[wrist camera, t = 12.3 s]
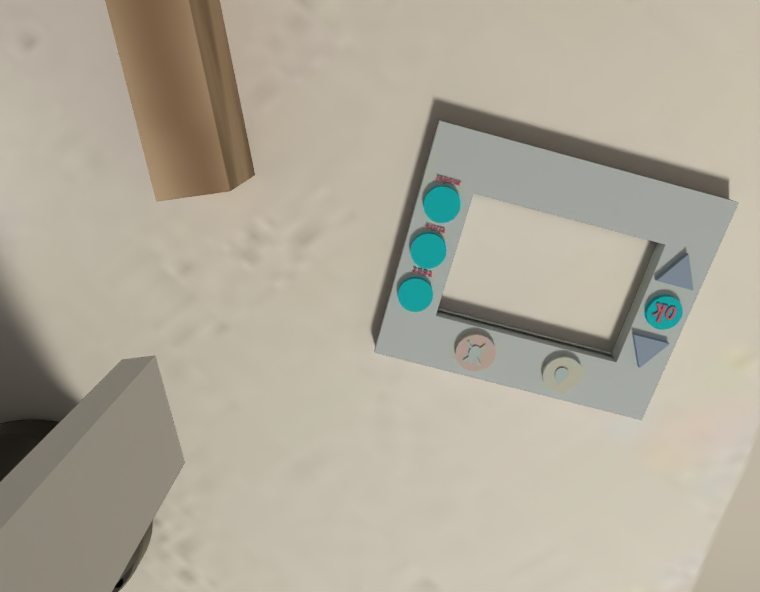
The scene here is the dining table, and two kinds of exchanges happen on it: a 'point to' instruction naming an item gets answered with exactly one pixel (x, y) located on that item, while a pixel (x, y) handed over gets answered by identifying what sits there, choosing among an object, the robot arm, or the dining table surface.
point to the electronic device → (569, 200)
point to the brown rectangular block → (183, 95)
